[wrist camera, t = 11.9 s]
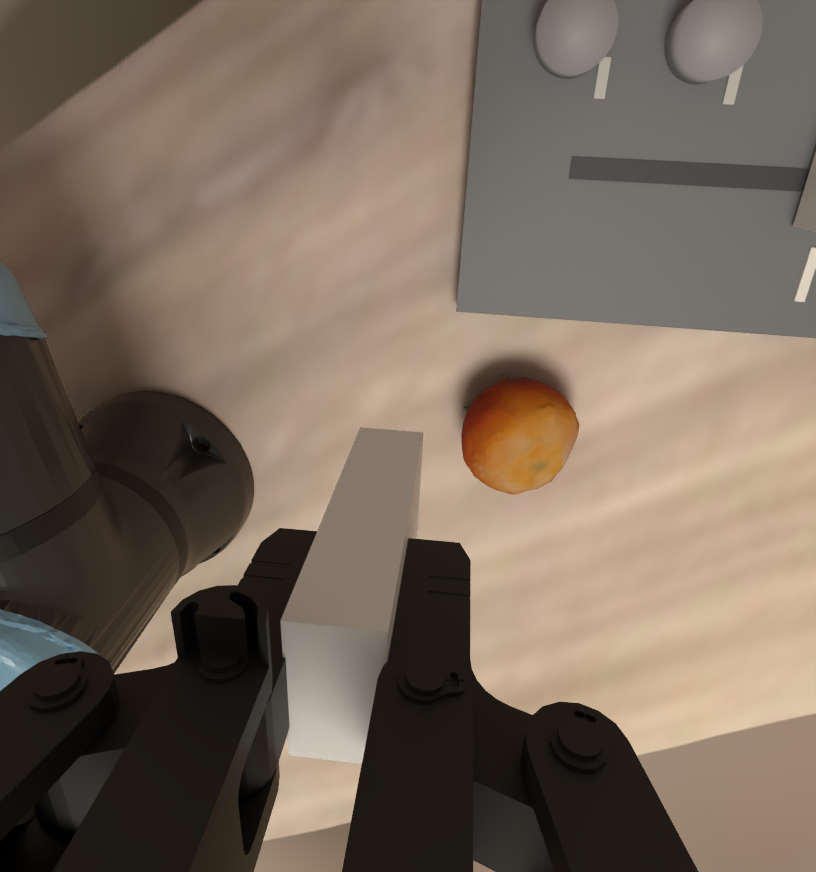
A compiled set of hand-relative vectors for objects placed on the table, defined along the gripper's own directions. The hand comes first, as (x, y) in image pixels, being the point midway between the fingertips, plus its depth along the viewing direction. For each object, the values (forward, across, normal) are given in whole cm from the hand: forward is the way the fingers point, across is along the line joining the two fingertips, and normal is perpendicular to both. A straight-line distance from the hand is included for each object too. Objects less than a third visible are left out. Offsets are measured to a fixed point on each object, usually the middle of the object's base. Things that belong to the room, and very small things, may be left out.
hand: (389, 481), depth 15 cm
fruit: (+29, +6, -10) cm, 31 cm away
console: (+29, +16, +7) cm, 34 cm away
